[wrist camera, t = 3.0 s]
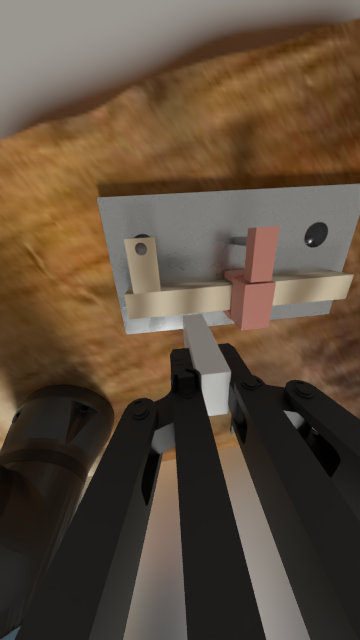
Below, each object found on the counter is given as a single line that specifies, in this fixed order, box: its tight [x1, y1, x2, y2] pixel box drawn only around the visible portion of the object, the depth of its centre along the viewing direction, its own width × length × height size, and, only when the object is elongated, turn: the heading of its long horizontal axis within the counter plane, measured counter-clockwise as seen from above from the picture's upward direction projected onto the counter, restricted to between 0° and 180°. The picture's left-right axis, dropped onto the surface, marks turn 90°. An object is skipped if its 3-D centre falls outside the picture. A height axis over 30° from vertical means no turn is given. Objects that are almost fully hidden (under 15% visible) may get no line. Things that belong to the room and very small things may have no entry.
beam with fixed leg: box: [124, 237, 353, 320], centre depth 21 cm, size 27×8×3 cm, turn 93°
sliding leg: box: [223, 226, 280, 330], centre depth 20 cm, size 3×10×6 cm, turn 3°
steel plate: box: [97, 184, 360, 334], centre depth 23 cm, size 30×16×1 cm, turn 93°
